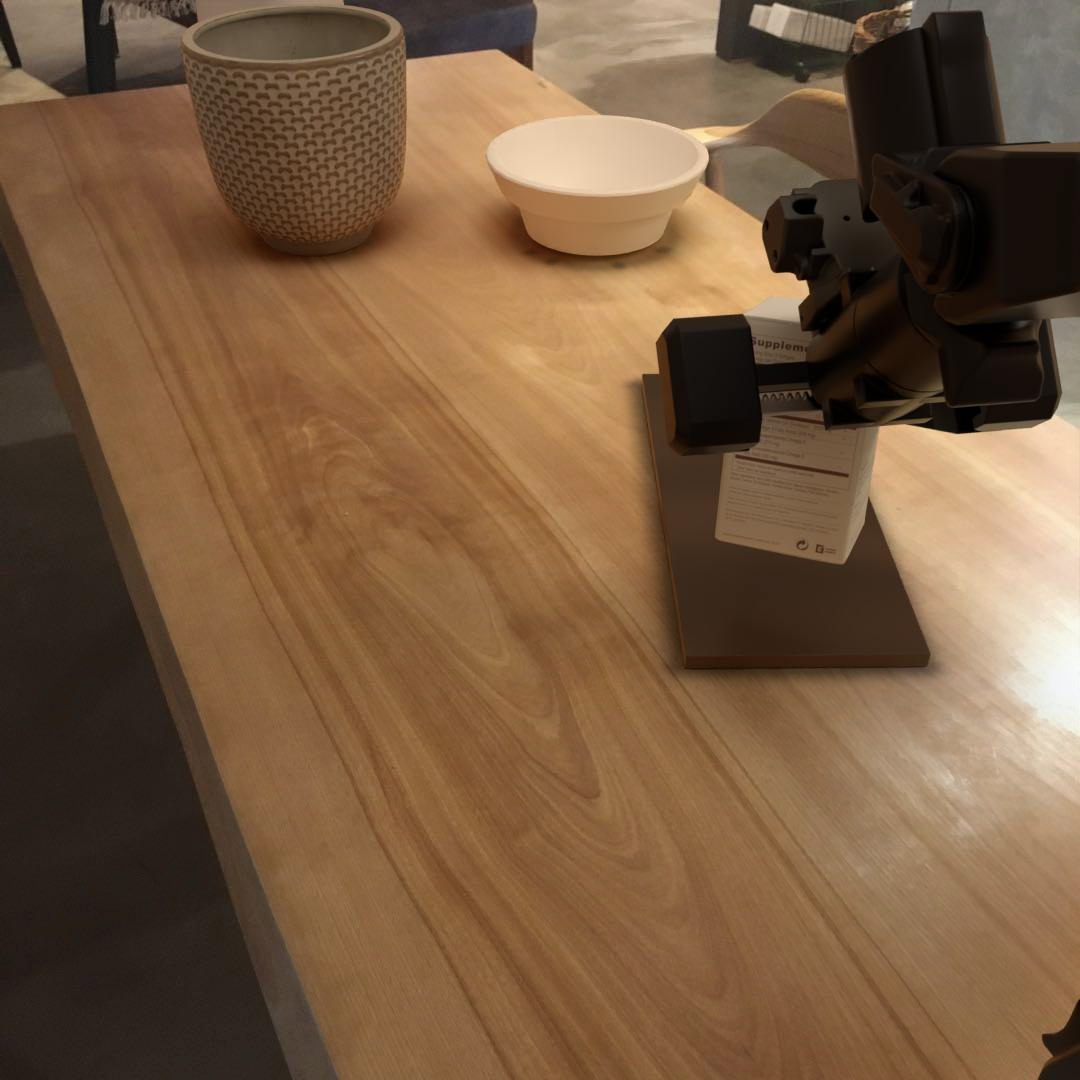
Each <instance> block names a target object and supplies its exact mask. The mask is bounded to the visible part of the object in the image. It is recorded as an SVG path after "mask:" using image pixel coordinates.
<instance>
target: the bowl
mask: <svg viewBox="0 0 1080 1080" xmlns="http://www.w3.org/2000/svg"><path fill="white" fill-rule="evenodd" d="M485 159H486V163H487V165H488V168H489V170H490V171H491V173H492V175H493V177H494V180H495V182H496V184H497V186H498V188H499V190H500V192H501V193H502V195H503V196H504V197H505V198H506V199H507V201H509V202H510V203H511V204H513V205H514V206H516V207H518V209H519V212H520V215H521V218H522V221H523V224H524V228H525V230H526V233H527V234H528V236H529V237H530V238H531V239H532V240H533V241H535V242H537V243H538V244H540V245H541V246H543V247H546V248H547V249H550V250H555V251H558V252H561V253H567V254H571V255H579V256H594V257H595V256H597V257H599V256H601V257H602V256H614V255H615V256H616V255H622V254H628V253H632V252H636V251H639V250H643V249H645V248H647V247H650V246H651V245H653V244H655V243H656V242H658V241H659V240H660V239H661V238H662V237H663V235H664V233H665V230H666V228H667V226H668V223H669V221H670V218H671V215H672V213H673V210H674V209H676V208H678V207H680V206H681V205H683V204H684V203H685V202H686V201H688V199H690V197H691V196H692V194H693V193H694V190H695V188H696V187H697V185H698V183H699V181H700V180H701V178H702V176H703V175H704V172H705V171H706V169H707V167H708V164H709V161H710V156H709V150H708V148H707V146H705V144H704V143H703V142H702V141H701V140H700V139H699V138H697V137H696V136H695V135H693V134H691V133H689V132H687V131H685V130H683V129H681V128H678V127H676V126H673V125H669V124H666V123H663V122H660V121H659V122H658V121H654V120H650V119H645V118H638V117H632V116H623V115H622V116H621V115H610V114H609V115H607V114H580V115H567V116H566V115H565V116H558V117H557V116H556V117H550V118H544V119H540V120H535V121H530V122H527V123H524V124H521V125H517V126H514V127H512V128H510V129H508V130H506V131H503V132H501V133H500V134H499V135H497V136H496V137H494V138H493V140H492V141H491V142H490V143H489V145H488V146H487V148H486V152H485Z"/></svg>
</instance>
